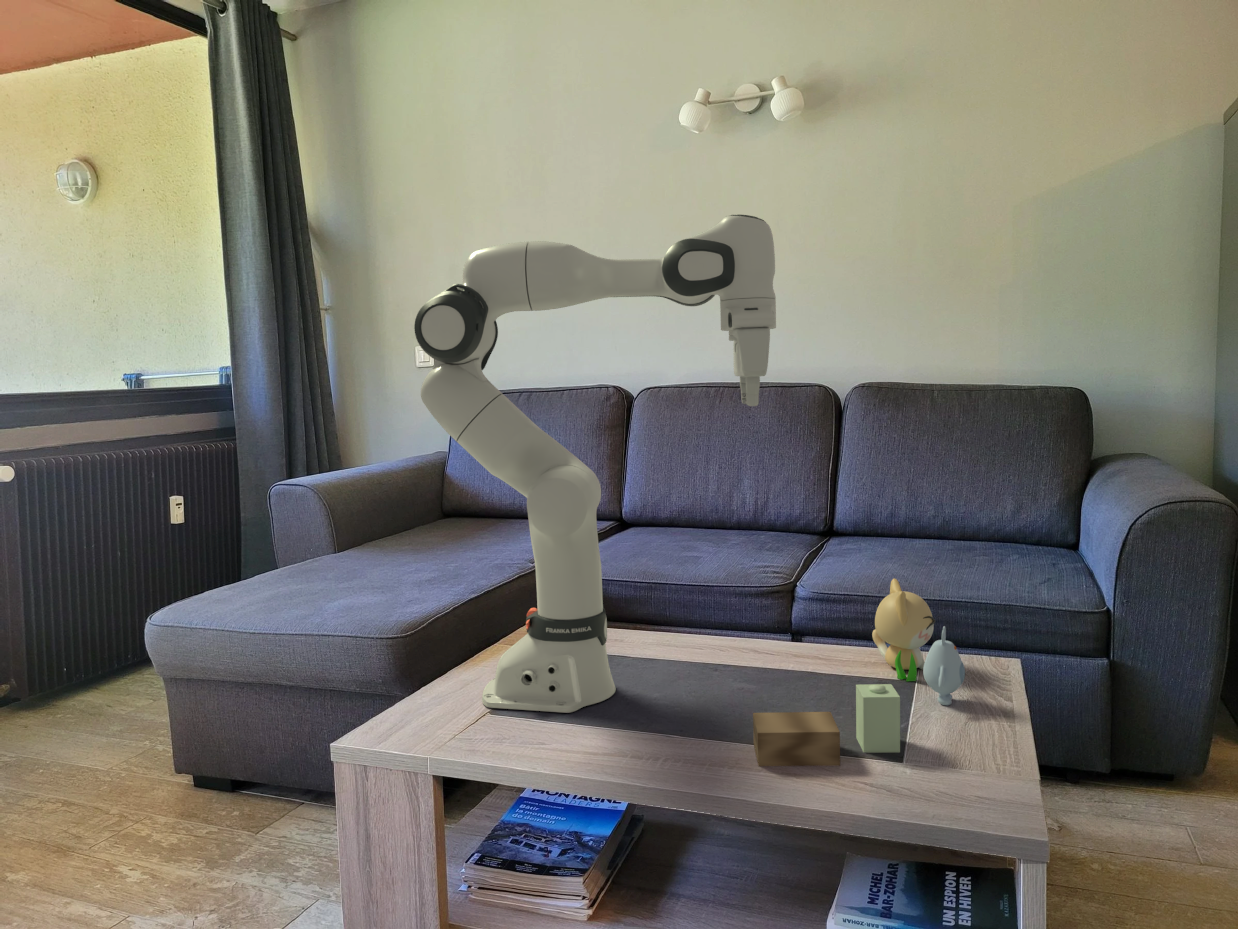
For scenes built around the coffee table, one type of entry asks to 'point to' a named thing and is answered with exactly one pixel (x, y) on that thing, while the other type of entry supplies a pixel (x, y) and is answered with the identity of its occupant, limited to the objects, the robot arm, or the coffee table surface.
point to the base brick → (796, 739)
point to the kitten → (903, 630)
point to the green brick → (878, 718)
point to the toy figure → (944, 669)
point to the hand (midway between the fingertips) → (749, 404)
